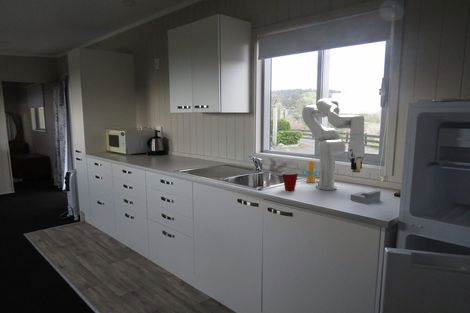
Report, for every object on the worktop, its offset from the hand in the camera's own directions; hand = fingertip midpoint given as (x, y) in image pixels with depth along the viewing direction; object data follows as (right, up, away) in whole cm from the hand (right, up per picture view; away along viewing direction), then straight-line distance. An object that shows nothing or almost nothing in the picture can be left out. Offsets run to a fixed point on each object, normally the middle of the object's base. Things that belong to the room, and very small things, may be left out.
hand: (356, 168), depth 187 cm
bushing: (0, -2, 0) cm, 2 cm away
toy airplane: (-15, -11, +47) cm, 50 cm away
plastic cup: (-35, -15, +20) cm, 43 cm away
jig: (+4, -18, -3) cm, 18 cm away
